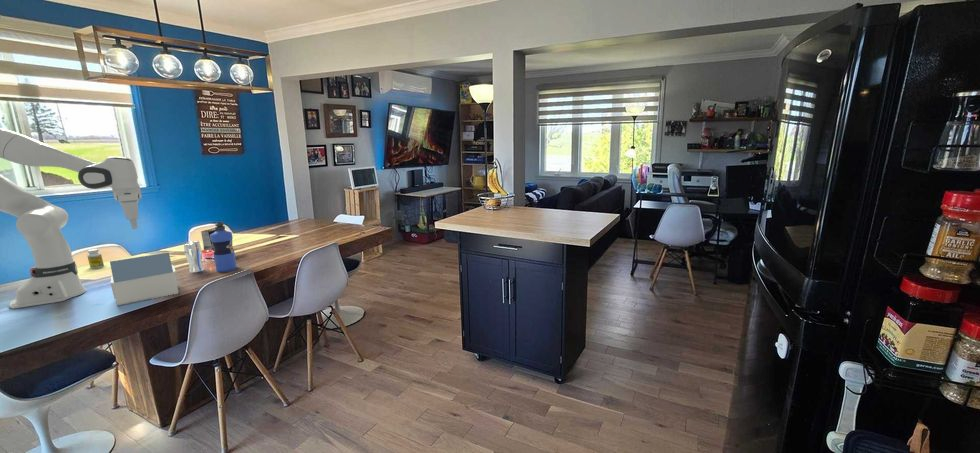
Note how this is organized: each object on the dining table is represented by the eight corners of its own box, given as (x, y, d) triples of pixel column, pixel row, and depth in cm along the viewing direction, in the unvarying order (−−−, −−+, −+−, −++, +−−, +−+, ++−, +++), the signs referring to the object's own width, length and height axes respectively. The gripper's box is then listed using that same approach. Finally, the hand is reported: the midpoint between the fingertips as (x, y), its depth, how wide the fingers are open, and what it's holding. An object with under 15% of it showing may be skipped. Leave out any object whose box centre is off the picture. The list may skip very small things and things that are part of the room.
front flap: (113, 282, 163) (113, 282, 162) (110, 261, 164) (109, 261, 164) (173, 272, 175) (173, 271, 175) (168, 252, 177) (168, 252, 176)
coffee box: (214, 259, 229) (209, 231, 225) (205, 258, 230) (200, 231, 226) (227, 254, 237) (223, 227, 234) (218, 254, 239) (214, 227, 235)
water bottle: (213, 273, 204) (204, 224, 199) (219, 267, 213) (212, 221, 208) (233, 271, 207) (226, 223, 201) (239, 265, 216) (232, 219, 210)
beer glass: (191, 274, 203) (185, 245, 200) (186, 271, 208) (181, 243, 204) (207, 270, 209) (202, 242, 206) (202, 267, 213) (197, 240, 210)
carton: (115, 306, 164) (110, 283, 162) (116, 296, 175) (111, 274, 173) (180, 293, 178) (175, 271, 176) (177, 284, 188) (173, 264, 186)
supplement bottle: (103, 264, 221) (100, 247, 219) (104, 266, 217) (100, 249, 215) (90, 267, 218) (86, 249, 216) (90, 269, 214) (86, 251, 212)
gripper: (118, 193, 177) (125, 224, 180) (117, 198, 162) (125, 231, 165) (136, 192, 181) (143, 222, 184) (138, 196, 166) (145, 229, 169)
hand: (134, 226), depth 174 cm, fingers open, 8 cm apart
